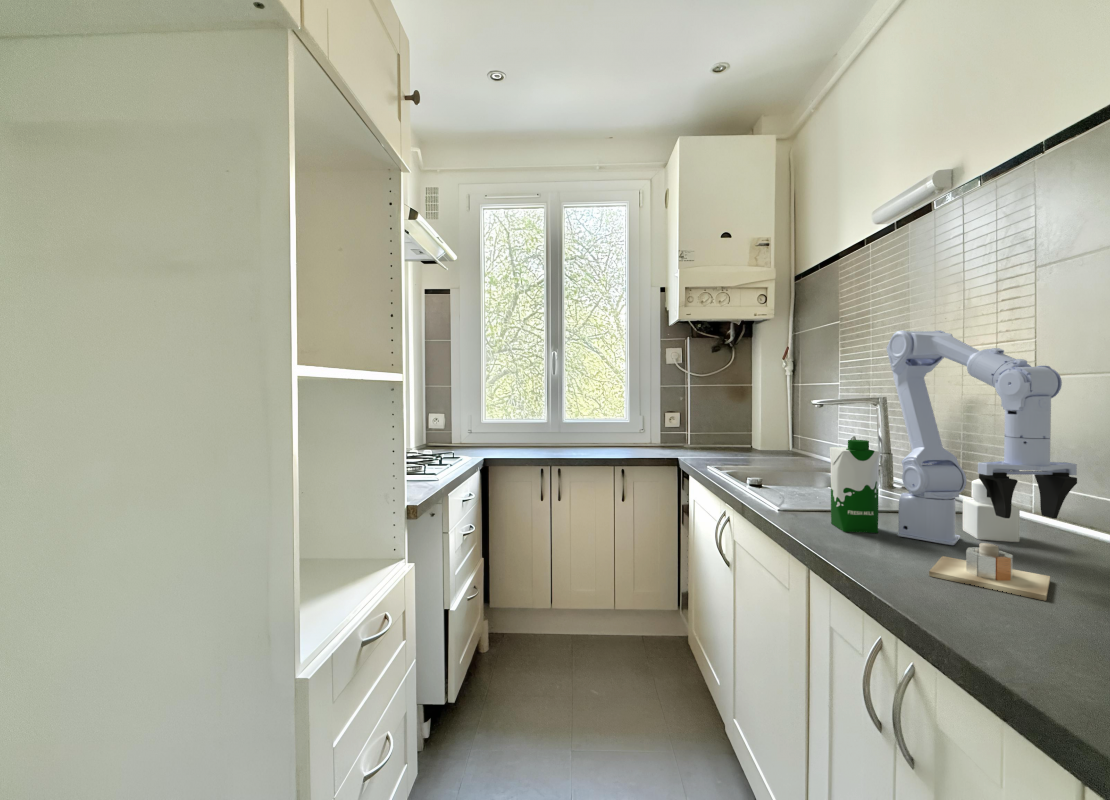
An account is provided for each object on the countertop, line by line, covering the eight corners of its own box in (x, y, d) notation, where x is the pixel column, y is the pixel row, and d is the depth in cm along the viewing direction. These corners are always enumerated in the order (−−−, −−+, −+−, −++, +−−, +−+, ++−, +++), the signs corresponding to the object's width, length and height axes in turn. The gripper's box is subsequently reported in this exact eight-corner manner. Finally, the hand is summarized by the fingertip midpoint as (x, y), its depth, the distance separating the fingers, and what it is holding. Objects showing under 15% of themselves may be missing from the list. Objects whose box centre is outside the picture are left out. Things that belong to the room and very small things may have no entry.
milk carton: (841, 533, 109) (841, 441, 109) (825, 522, 118) (825, 437, 118) (884, 534, 108) (885, 441, 108) (865, 523, 117) (865, 437, 117)
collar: (958, 567, 85) (958, 547, 85) (991, 567, 85) (992, 547, 85) (985, 580, 80) (986, 558, 80) (1021, 580, 80) (1022, 558, 80)
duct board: (929, 575, 84) (929, 543, 84) (942, 560, 92) (942, 530, 91) (1046, 601, 74) (1046, 563, 74) (1050, 581, 81) (1050, 547, 81)
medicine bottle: (1002, 533, 108) (1002, 477, 108) (1020, 542, 102) (1020, 483, 101) (961, 530, 111) (962, 476, 110) (977, 539, 104) (977, 482, 104)
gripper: (1002, 439, 82) (1001, 522, 82) (1096, 439, 81) (1094, 523, 81) (968, 435, 89) (967, 512, 89) (1054, 435, 88) (1053, 512, 88)
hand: (1025, 517), depth 85 cm, fingers open, 7 cm apart
